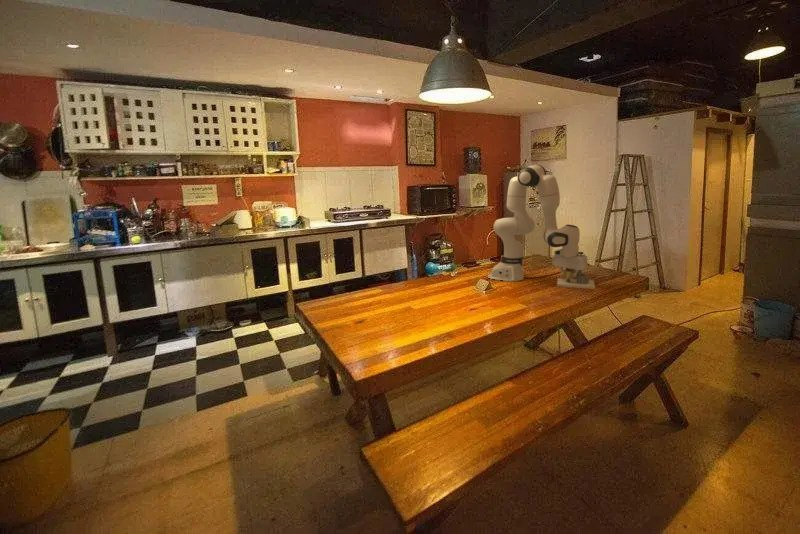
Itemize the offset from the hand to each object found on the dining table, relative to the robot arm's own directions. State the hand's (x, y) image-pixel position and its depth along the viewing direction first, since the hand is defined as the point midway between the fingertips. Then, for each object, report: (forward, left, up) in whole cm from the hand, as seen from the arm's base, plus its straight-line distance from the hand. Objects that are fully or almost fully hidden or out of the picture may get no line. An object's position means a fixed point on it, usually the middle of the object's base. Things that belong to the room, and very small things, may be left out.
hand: (568, 275), depth 234 cm
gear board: (+4, +1, -6) cm, 7 cm away
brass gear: (0, 0, -2) cm, 2 cm away
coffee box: (+3, +19, -6) cm, 20 cm away
